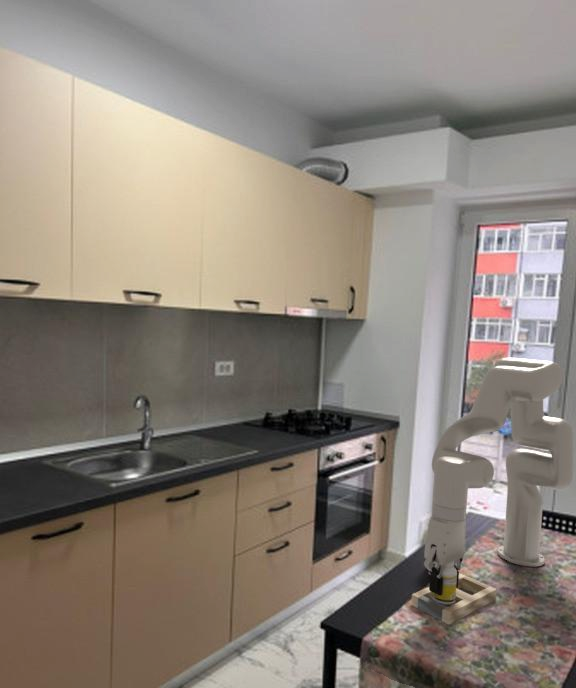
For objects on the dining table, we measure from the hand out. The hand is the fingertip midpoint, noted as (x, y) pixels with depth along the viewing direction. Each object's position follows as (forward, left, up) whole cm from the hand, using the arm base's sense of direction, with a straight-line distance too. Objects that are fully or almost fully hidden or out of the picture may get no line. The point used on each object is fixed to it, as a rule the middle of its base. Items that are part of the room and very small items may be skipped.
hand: (443, 588), depth 123 cm
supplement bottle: (0, 0, -3) cm, 3 cm away
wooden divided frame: (-5, 0, -5) cm, 7 cm away
